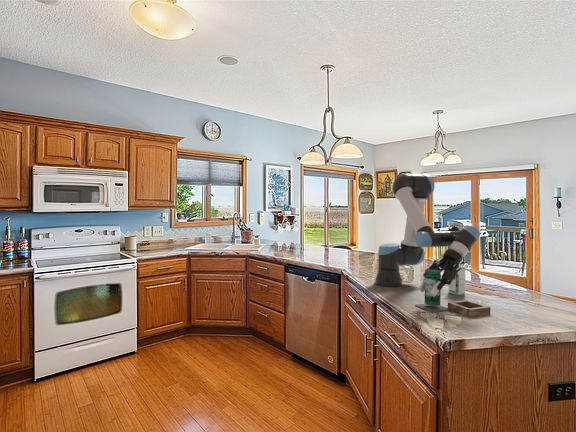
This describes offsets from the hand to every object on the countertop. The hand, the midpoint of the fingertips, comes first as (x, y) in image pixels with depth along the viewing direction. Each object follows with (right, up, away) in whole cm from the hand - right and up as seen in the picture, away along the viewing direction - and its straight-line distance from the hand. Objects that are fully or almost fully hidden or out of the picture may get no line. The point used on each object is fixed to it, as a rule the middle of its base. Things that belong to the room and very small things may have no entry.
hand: (426, 292), depth 143 cm
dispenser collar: (+17, -8, -3) cm, 19 cm away
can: (+3, -6, +1) cm, 7 cm away
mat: (+3, -7, +1) cm, 8 cm away
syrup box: (+27, -7, +27) cm, 39 cm away
